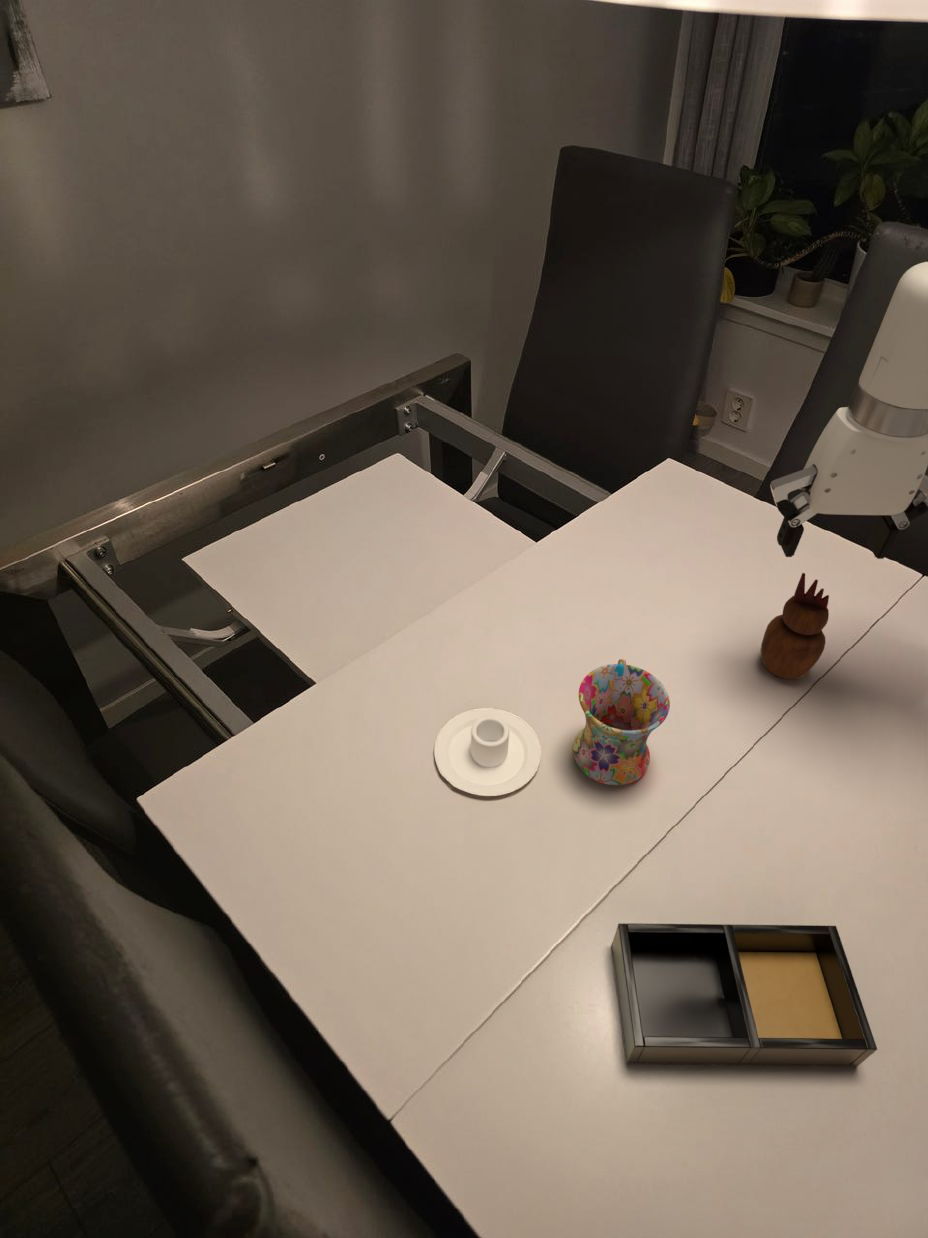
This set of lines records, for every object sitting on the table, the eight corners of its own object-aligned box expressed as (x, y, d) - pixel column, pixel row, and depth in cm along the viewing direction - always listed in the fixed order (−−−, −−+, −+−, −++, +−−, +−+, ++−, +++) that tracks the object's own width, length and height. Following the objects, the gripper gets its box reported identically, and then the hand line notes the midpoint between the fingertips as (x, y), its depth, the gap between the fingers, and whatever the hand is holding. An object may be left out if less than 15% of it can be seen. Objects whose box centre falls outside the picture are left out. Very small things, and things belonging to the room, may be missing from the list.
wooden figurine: (745, 665, 98) (780, 575, 87) (769, 642, 101) (805, 552, 90) (795, 695, 95) (838, 605, 84) (818, 669, 97) (861, 580, 87)
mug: (652, 798, 84) (671, 738, 77) (566, 786, 85) (576, 726, 78) (651, 711, 93) (667, 650, 85) (572, 702, 94) (582, 640, 86)
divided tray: (819, 947, 73) (836, 925, 70) (857, 1067, 66) (877, 1049, 62) (611, 944, 73) (618, 923, 70) (626, 1064, 66) (634, 1046, 63)
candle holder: (434, 801, 84) (433, 778, 81) (433, 713, 92) (433, 689, 89) (546, 798, 84) (549, 775, 81) (535, 710, 93) (537, 687, 90)
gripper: (968, 389, 75) (896, 529, 87) (789, 385, 75) (741, 526, 87) (1006, 430, 70) (923, 574, 82) (813, 426, 70) (758, 571, 82)
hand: (829, 549), depth 84 cm, fingers open, 9 cm apart
